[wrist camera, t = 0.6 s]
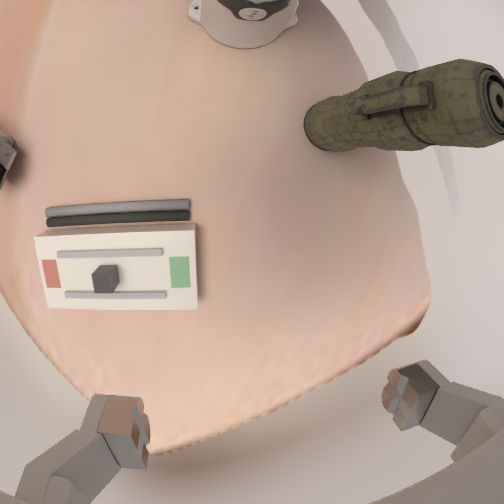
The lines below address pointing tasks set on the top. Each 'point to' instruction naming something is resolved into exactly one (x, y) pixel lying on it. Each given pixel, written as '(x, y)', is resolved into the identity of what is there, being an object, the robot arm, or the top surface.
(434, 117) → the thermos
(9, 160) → the circuit breaker
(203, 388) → the top surface
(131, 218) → the long gray rail
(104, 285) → the breaker toggle
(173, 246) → the white slider track board
